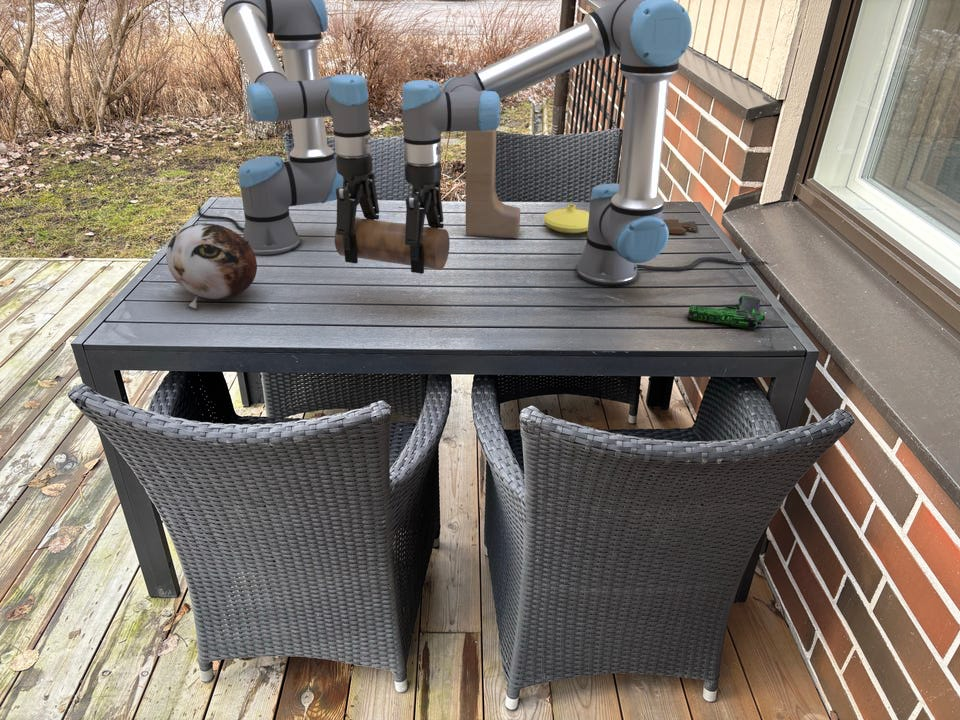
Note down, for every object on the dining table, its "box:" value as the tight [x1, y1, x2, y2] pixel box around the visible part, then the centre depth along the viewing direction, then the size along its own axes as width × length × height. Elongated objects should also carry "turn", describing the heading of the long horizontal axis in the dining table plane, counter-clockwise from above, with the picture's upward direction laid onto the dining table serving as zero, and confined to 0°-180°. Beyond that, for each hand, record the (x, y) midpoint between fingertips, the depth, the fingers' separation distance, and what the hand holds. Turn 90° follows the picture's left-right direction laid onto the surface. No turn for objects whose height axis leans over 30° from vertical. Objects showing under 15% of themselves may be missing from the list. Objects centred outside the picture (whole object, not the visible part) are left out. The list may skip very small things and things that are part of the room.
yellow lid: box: [543, 203, 589, 234], centre depth 209 cm, size 16×16×7 cm
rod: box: [334, 217, 451, 271], centre depth 158 cm, size 24×9×9 cm, turn 72°
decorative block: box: [465, 129, 521, 239], centre depth 199 cm, size 8×15×30 cm, turn 82°
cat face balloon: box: [165, 222, 258, 309], centre depth 165 cm, size 22×18×20 cm
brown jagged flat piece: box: [662, 218, 698, 235], centre depth 212 cm, size 26×2×10 cm
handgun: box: [687, 295, 766, 331], centre depth 164 cm, size 16×3×15 cm
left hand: (361, 254), depth 162 cm, fingers closed on rod, 9 cm apart
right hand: (425, 264), depth 158 cm, fingers closed on rod, 9 cm apart
